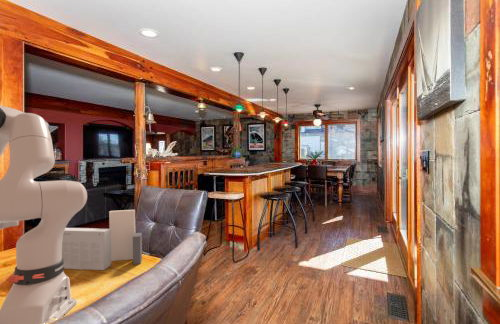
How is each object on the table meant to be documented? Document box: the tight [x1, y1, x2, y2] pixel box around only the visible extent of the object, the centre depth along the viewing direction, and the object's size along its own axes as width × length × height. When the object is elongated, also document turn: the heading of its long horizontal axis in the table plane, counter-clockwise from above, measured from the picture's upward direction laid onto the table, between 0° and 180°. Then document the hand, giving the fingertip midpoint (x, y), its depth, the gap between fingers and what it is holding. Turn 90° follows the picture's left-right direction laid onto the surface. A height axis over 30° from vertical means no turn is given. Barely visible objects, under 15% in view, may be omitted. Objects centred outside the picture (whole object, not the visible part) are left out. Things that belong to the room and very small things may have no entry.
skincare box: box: [62, 227, 112, 271], centre depth 115 cm, size 21×6×16 cm, turn 84°
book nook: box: [108, 209, 143, 265], centre depth 120 cm, size 8×13×22 cm, turn 105°
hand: (25, 220), depth 109 cm, fingers open, 8 cm apart
